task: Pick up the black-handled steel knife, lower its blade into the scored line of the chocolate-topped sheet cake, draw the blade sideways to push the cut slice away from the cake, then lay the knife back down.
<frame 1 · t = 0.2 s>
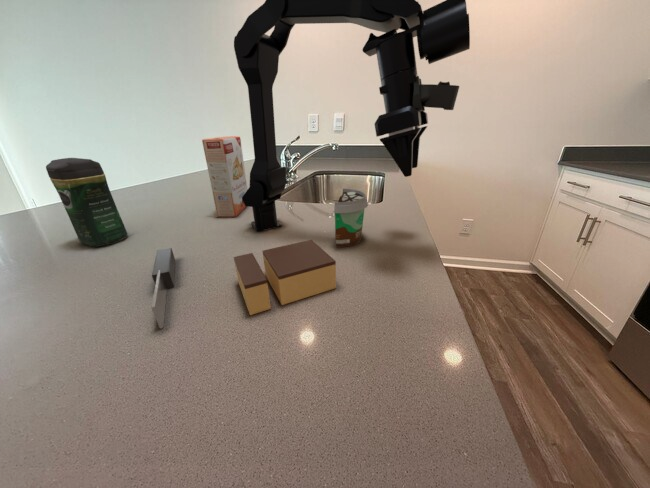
hand: (411, 171, 47), 15 cm above the counter, tool pointing down, fingers open, 9 cm apart
cake: (299, 281, 43), on the counter
cake slice: (253, 295, 40), on the counter
coffee jar: (106, 240, 61), on the counter
food container: (352, 239, 58), on the counter
knife: (165, 289, 42), on the counter
cracker box: (235, 210, 80), on the counter
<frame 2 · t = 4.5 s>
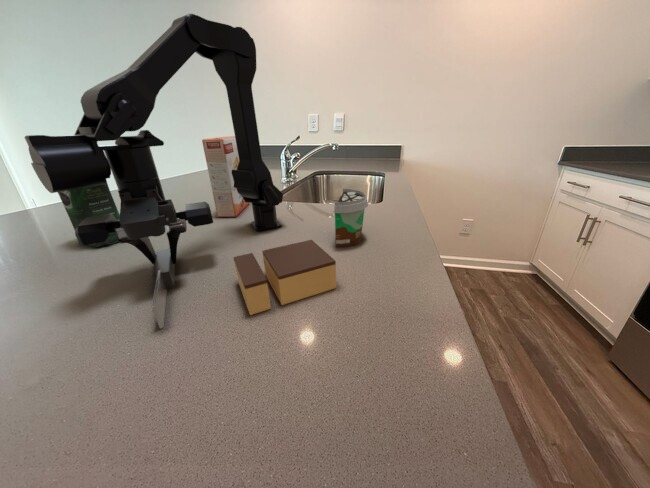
hand: (166, 264, 47), 1 cm above the counter, tool pointing down, fingers closed on knife, 2 cm apart
knife: (165, 289, 42), on the counter, touching gripper
everything else where it was.
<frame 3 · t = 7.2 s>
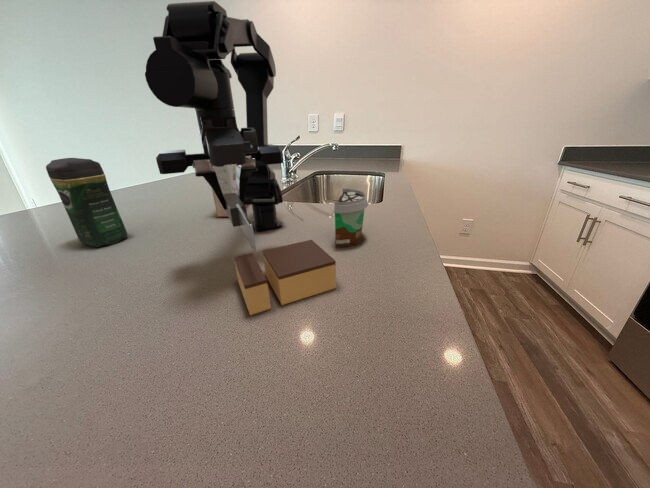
hand: (233, 207, 46), 10 cm above the counter, tool pointing down, fingers closed on knife, 2 cm apart
knife: (241, 225, 41), point 9 cm above the counter, touching gripper
everything else where it was.
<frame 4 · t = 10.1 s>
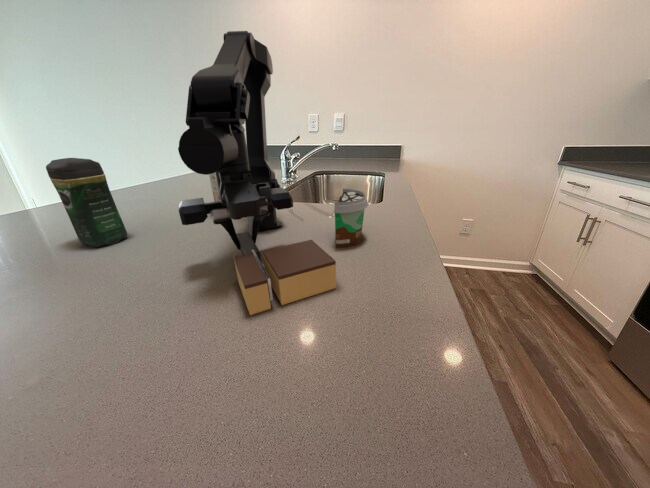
hand: (246, 247, 50), 3 cm above the counter, tool pointing down, fingers closed on knife, 2 cm apart
knife: (255, 268, 44), point 1 cm above the counter, touching gripper
everything else where it was.
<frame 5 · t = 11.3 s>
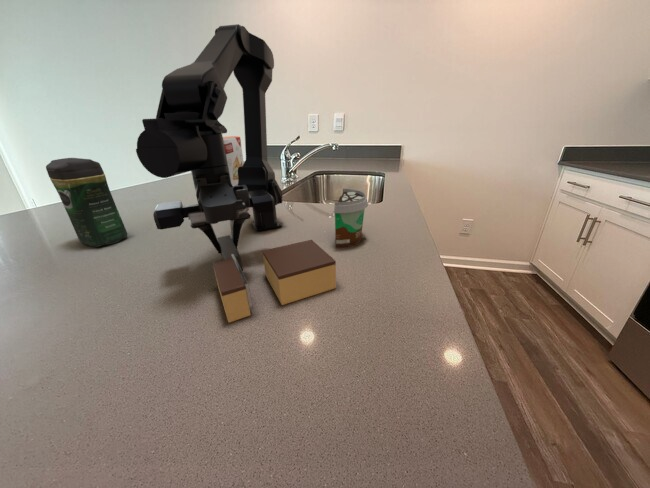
hand: (227, 251, 48), 2 cm above the counter, tool pointing down, fingers closed on knife, 2 cm apart
cake slice: (233, 301, 39), on the counter, touching knife
knife: (236, 273, 43), point 1 cm above the counter, touching cake slice, gripper
everything else where it was.
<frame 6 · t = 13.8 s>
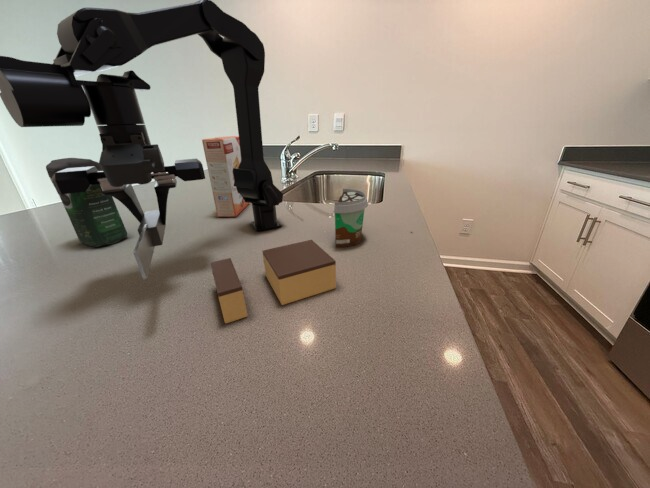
hand: (155, 225, 44), 9 cm above the counter, tool pointing down, fingers closed on knife, 2 cm apart
cake slice: (231, 301, 38), on the counter
knife: (153, 246, 39), point 8 cm above the counter, touching gripper
everything else where it was.
when the fingers open (1 cm above the counter, at t = 15.8 s): knife stays where it is, on the counter.
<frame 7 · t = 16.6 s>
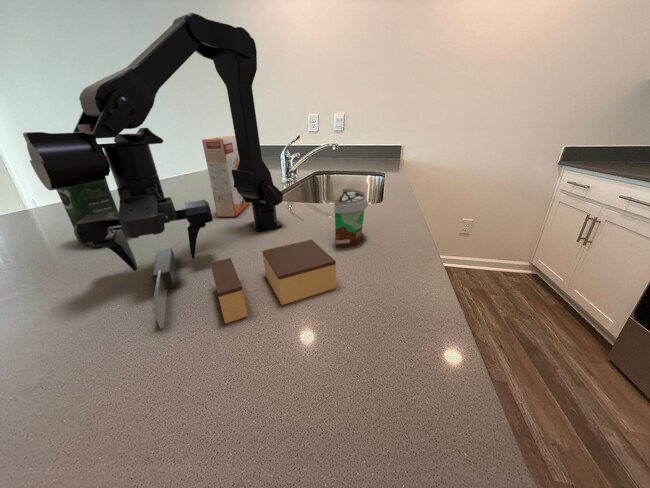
hand: (165, 263, 47), 1 cm above the counter, tool pointing down, fingers open, 9 cm apart
knife: (166, 289, 42), on the counter
everything else where it was.
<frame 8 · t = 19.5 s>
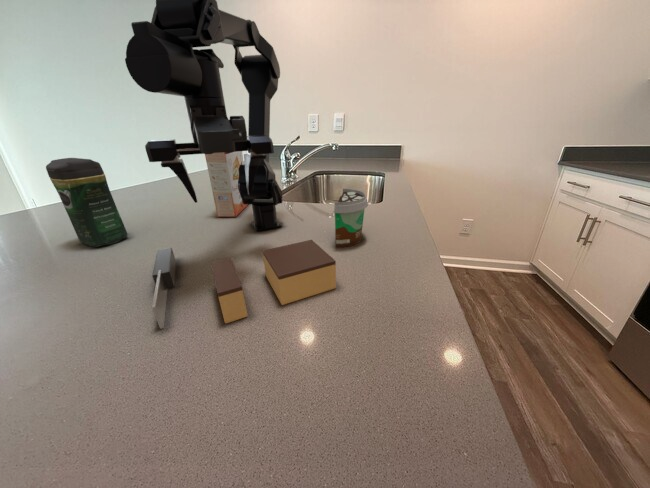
hand: (224, 198, 46), 12 cm above the counter, tool pointing down, fingers open, 9 cm apart
nothing on the counter moved.
at the end: cake slice inside the target area (2.9 cm from its centre), on the counter; cake slice tilted 0°; the gripper is holding nothing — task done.
